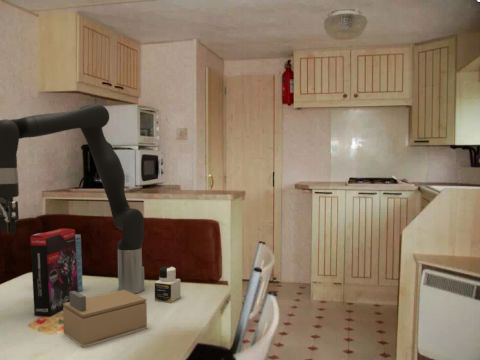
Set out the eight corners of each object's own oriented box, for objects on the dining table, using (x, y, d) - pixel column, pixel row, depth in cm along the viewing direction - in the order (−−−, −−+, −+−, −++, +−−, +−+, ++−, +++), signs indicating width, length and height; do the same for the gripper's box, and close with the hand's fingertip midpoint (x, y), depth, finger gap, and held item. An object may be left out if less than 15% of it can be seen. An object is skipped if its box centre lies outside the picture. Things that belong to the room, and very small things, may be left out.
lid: (124, 292, 143) (123, 277, 143) (146, 301, 133) (146, 286, 133) (63, 306, 130) (62, 290, 129) (82, 317, 119) (82, 300, 119)
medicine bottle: (154, 300, 160) (153, 268, 160) (164, 295, 167) (164, 264, 166) (171, 303, 158) (170, 270, 157) (180, 297, 164) (180, 266, 164)
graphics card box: (49, 317, 144) (47, 235, 143) (31, 316, 145) (29, 235, 144) (78, 301, 161) (77, 228, 160) (62, 300, 162) (60, 227, 161)
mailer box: (124, 316, 144) (124, 293, 143) (146, 328, 133) (146, 302, 133) (63, 333, 130) (63, 307, 130) (83, 347, 120) (82, 318, 119)
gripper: (26, 182, 137) (27, 233, 138) (9, 181, 147) (11, 229, 147) (0, 183, 132) (1, 236, 132) (-15, 182, 141) (-14, 231, 142)
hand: (6, 232), depth 140 cm, fingers open, 8 cm apart
